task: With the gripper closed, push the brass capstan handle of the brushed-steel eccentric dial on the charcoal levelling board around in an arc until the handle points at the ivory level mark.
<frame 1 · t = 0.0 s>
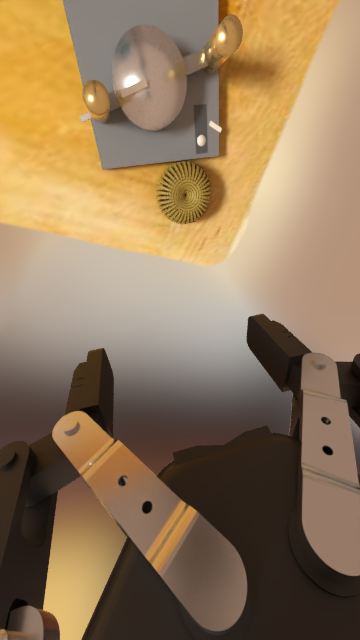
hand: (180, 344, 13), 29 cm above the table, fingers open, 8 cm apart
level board: (152, 89, 29), on the table
sculpture: (180, 193, 36), on the table
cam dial: (158, 76, 25), point 5 cm above the table, hinge at -75.0°
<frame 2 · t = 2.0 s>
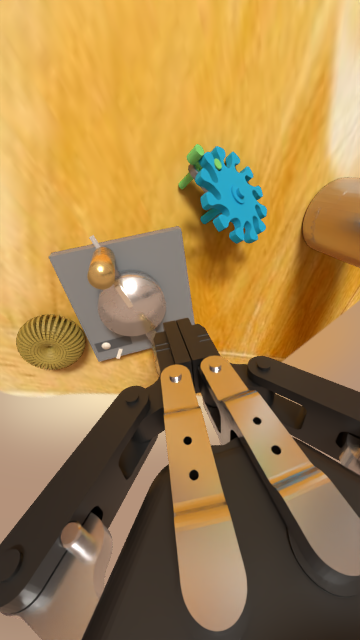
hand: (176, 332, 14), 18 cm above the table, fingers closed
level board: (134, 298, 32), on the table
sculpture: (56, 333, 33), on the table
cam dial: (136, 316, 28), point 5 cm above the table, hinge at -75.0°
gear: (217, 190, 28), on the table
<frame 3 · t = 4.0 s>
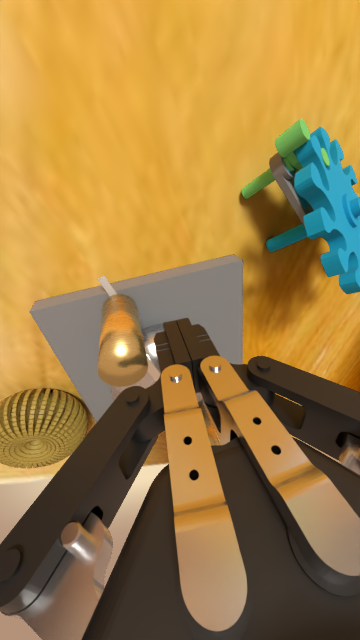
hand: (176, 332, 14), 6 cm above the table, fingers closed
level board: (160, 355, 22), on the table
sculpture: (45, 407, 22), on the table
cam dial: (171, 396, 18), point 5 cm above the table, hinge at -74.2°, touching gripper
gear: (295, 201, 18), on the table
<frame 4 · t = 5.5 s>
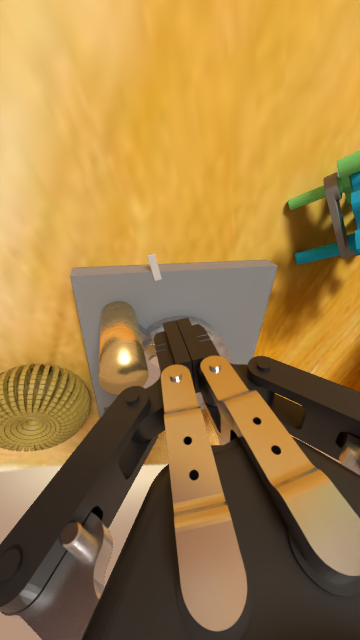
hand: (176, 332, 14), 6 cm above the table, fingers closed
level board: (176, 347, 22), on the table
sculpture: (43, 387, 21), on the table
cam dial: (192, 386, 18), point 5 cm above the table, hinge at -45.9°, touching gripper
gear: (325, 224, 20), on the table
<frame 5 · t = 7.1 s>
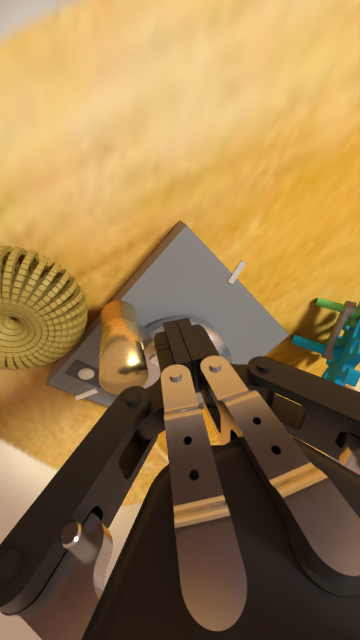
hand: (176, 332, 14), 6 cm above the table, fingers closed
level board: (176, 346, 22), on the table
sculpture: (28, 296, 16), on the table
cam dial: (192, 386, 18), point 5 cm above the table, hinge at -3.9°, touching gripper
gear: (316, 329, 26), on the table
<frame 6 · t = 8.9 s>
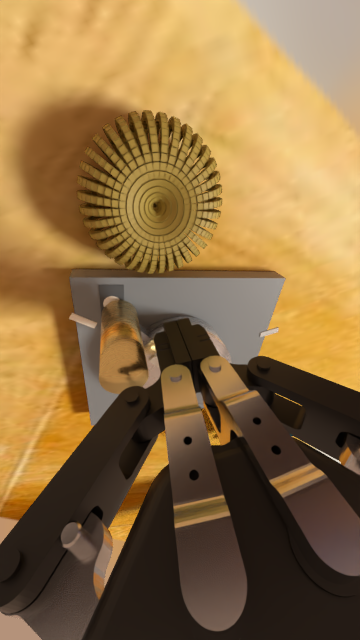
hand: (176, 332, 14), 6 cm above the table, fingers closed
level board: (176, 347, 22), on the table
sculpture: (148, 199, 15), on the table
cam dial: (191, 387, 18), point 5 cm above the table, hinge at 46.1°, touching gripper
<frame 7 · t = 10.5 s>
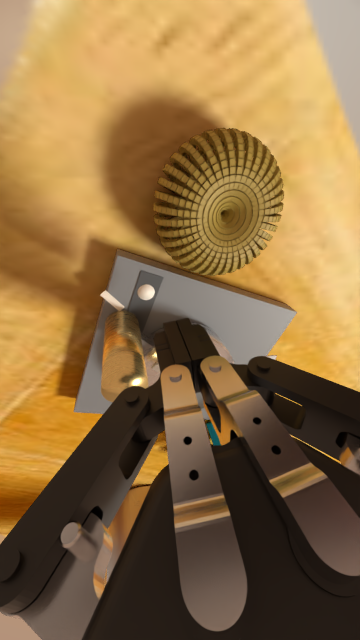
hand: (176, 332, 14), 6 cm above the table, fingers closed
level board: (181, 351, 22), on the table
sculpture: (206, 206, 16), on the table
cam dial: (195, 391, 18), point 5 cm above the table, hinge at 66.7°
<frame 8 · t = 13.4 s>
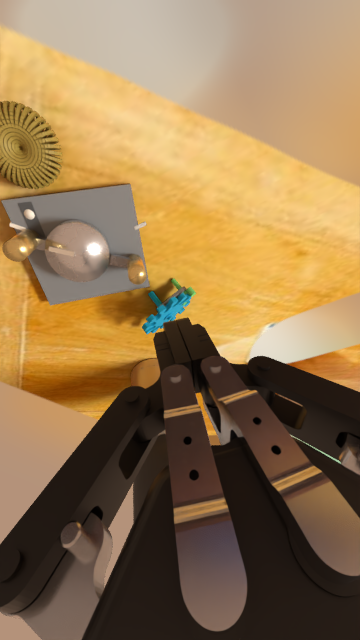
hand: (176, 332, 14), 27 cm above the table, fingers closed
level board: (87, 247, 35), on the table
sculpture: (29, 150, 29), on the table
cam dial: (84, 257, 31), point 5 cm above the table, hinge at 66.7°
gear: (165, 301, 44), on the table
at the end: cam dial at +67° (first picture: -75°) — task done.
